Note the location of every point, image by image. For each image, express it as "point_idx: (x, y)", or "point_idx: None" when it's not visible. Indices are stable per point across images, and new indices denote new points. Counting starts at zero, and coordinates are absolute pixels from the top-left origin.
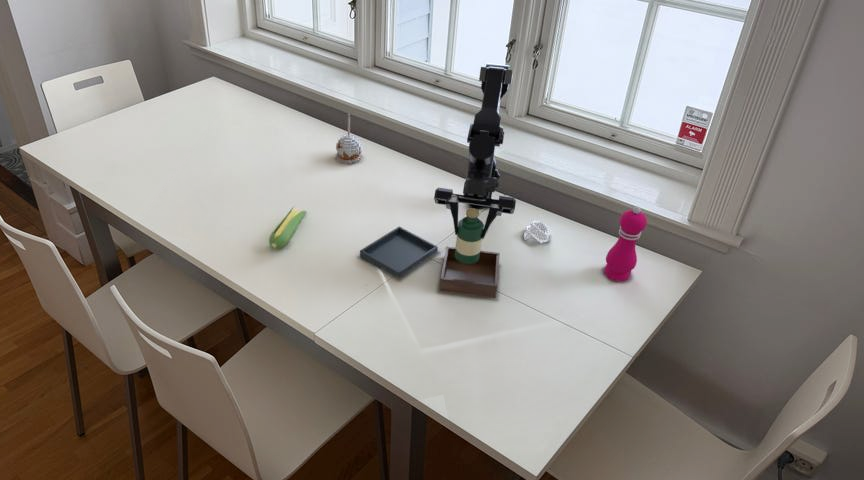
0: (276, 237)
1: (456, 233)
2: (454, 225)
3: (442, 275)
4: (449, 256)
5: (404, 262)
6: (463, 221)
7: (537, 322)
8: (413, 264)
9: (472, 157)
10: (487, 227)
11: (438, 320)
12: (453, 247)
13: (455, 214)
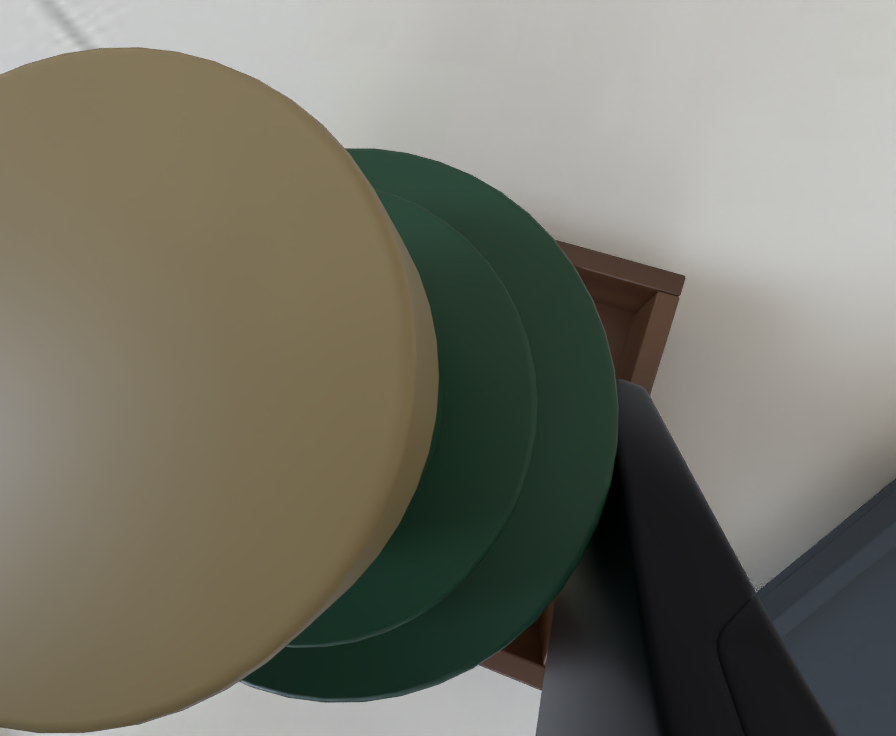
0: None
1: (623, 384)
2: (689, 477)
3: (663, 312)
4: (526, 629)
5: (871, 635)
6: (516, 405)
7: (186, 38)
8: (825, 567)
9: None
10: None
11: (700, 67)
12: (500, 667)
13: (739, 723)
